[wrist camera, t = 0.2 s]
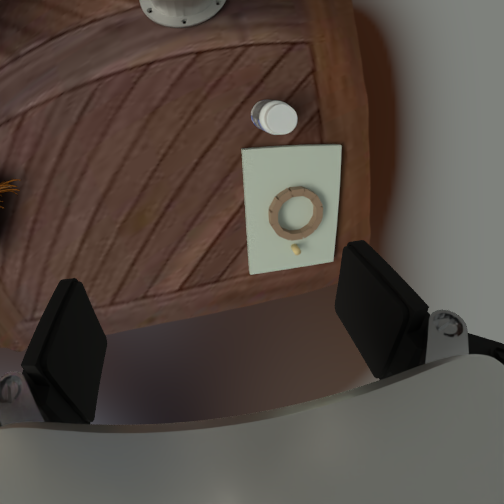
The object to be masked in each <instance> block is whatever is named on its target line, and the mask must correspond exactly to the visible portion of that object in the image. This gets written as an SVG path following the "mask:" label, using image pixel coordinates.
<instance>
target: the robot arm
mask: <svg viewBox="0 0 504 504" xmlns="http://www.w3.org/2000/svg"><path fill="white" fill-rule="evenodd" d="M225 1H226V0H140V5H141V7H142V10H143V12H144V13H145V14H146V16H147V17H148V18H149V19H151V20H152V21H154V22H155V23H157V24H160V25H162V26H166V27H171V28H185V27H191V26H195V25H198V24H200V23H203V22H205V21H207V20H208V19H210V18H212V17H213V16H214V15H215V14H217V13H218V11H219V10H220V9H221V8H222V6H223V5H224V3H225ZM216 3H219V4H220V5H216ZM150 11H152V12H151V13H149V12H150ZM183 22H186V24H183ZM428 308H429V307H428V305H427V304H426V303H425V302H424V301H423V300H422V299H421V298H420V297H419V296H418V294H417V293H416V292H415V291H414V290H413V289H412V288H411V287H410V286H409V285H408V284H407V283H406V282H405V281H404V280H403V279H402V278H401V277H400V276H399V275H398V273H397V272H396V271H394V269H393V268H392V267H391V266H390V265H389V264H388V263H387V262H386V261H385V260H384V259H383V258H382V257H381V256H380V255H379V254H378V253H377V252H376V251H375V250H373V248H372V247H371V246H370V245H369V244H367V243H366V242H365V241H364V240H360V241H353V242H349V243H348V244H347V246H346V247H344V248H343V253H342V261H341V268H340V275H339V281H338V288H337V294H336V300H335V310H336V313H337V315H338V316H339V318H340V320H341V321H342V323H343V325H344V326H345V328H346V330H347V331H348V333H349V335H350V336H351V338H352V340H353V341H354V343H355V345H356V347H357V348H358V350H359V352H360V353H361V355H362V357H363V358H364V360H365V362H366V363H367V365H368V367H369V368H370V370H371V372H372V374H373V375H374V377H375V378H379V379H380V380H379V381H376V382H373V383H370V384H367V385H364V386H361V387H358V388H355V389H352V390H349V391H345V392H342V393H338V394H335V395H332V396H328V397H324V398H320V399H317V400H312V401H309V402H305V403H301V404H296V405H292V406H287V407H283V408H278V409H273V410H269V411H263V412H257V413H252V414H246V415H240V416H233V417H226V418H219V419H212V420H202V421H194V422H182V423H168V424H149V425H92V424H90V422H93V420H94V417H95V410H96V403H97V396H98V390H99V384H100V378H101V373H102V367H103V362H104V357H105V352H106V347H107V340H106V336H105V334H104V332H103V330H102V328H101V325H100V323H99V321H98V319H97V317H96V314H95V312H94V310H93V308H92V305H91V303H90V301H89V298H88V296H87V294H86V291H85V289H84V286H83V284H82V283H81V282H78V280H77V279H75V278H72V279H64V280H61V281H60V282H59V284H58V286H57V288H56V289H55V291H54V293H53V295H52V297H51V299H50V301H49V303H48V305H47V307H46V309H45V311H44V313H43V315H42V317H41V319H40V322H39V324H38V326H37V328H36V330H35V332H34V335H33V337H32V339H31V342H30V344H29V346H28V349H27V351H26V354H25V356H24V359H23V361H22V364H21V366H22V368H23V369H24V370H23V373H22V374H21V373H20V372H16V371H13V372H8V373H6V374H4V375H3V376H2V377H1V378H0V504H504V344H502V343H499V342H496V341H493V340H489V339H486V338H483V337H479V336H476V335H473V334H469V333H468V331H467V326H466V323H465V322H464V320H463V319H462V318H461V317H460V316H459V315H457V314H455V313H453V312H451V311H448V310H437V311H435V312H433V313H432V314H431V315H430V314H429V313H428V312H427V311H428Z"/></svg>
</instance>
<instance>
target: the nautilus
mask: <svg viewBox="0 0 504 504" xmlns="http://www.w3.org/2000/svg"><path fill="white" fill-rule="evenodd" d="M16 180H19V179H14V180H12V179H11V180H10V181H8V182H4V181H5V180H4V181H3V182H4V183H3V182H2V183H3V184H2V183H0V184H2V185H0V189H5V190H1V191H3V192H1V191H0V193H4V192H8V191H12V190H18V189H6V188H8V187H11V186H14V185H7V184H8V183H9V182H12V181H16ZM20 181H21V180H20ZM5 183H7V184H6V185H4V184H5ZM2 186H3V187H2ZM5 186H8V187H5ZM1 187H2V188H1ZM15 187H17V186H15ZM7 190H8V191H7ZM18 191H20V190H18ZM12 192H14V191H12ZM14 193H15V192H14ZM15 194H17V193H15ZM0 195H1V194H0ZM1 196H2V195H1ZM0 202H3V201H0ZM0 207H1V206H0ZM2 208H4V207H2Z"/></svg>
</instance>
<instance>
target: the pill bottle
mask: <svg viewBox="0 0 504 504" xmlns="http://www.w3.org/2000/svg"><path fill="white" fill-rule="evenodd" d="M251 119H252V121H253V123H254V124H255V125H256V126H257V127H258V128H260V129H262V130H264V131H266V132H268V133H270V134H273V135H280V134H288V133H290V132H291V131H292V130H293V129H294V128H295V127H296V124H297V114H296V112H295V110H294V109H293V108H292V107H291V106H289V105H288V104H286V103H285V102H282V101H278V100H262V101H259V102H258V103H256V104H255V105H254V107H253V108H252V111H251Z"/></svg>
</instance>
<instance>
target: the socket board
mask: <svg viewBox="0 0 504 504" xmlns="http://www.w3.org/2000/svg"><path fill="white" fill-rule="evenodd" d="M341 149H342V145H339V144H310V145H285V146H268V147H255V148H243V149H241V150H242V166H243V182H244V198H245V214H246V230H247V245H248V261H249V272H250V275H252V274H258V273H265V272H271V271H278V270H284V269H290V268H297V267H303V266H309V265H315V264H321V263H327V262H333V258H334V249H335V239H336V229H337V217H338V204H339V190H340V172H341Z"/></svg>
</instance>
